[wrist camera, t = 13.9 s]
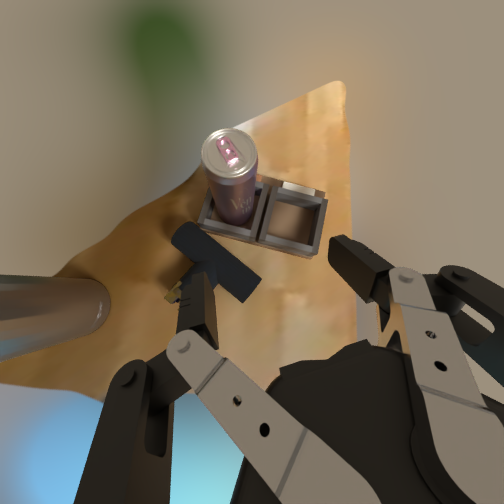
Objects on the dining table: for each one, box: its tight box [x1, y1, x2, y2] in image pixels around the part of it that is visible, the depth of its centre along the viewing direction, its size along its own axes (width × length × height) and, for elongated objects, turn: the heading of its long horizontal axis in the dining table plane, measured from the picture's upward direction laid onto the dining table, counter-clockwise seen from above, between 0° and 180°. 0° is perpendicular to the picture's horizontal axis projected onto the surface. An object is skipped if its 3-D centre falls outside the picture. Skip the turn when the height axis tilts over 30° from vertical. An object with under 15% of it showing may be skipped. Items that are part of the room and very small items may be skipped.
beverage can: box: [201, 128, 258, 226], centre depth 26 cm, size 6×6×15 cm
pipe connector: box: [164, 222, 262, 311], centre depth 30 cm, size 12×5×15 cm
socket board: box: [197, 174, 328, 259], centre depth 33 cm, size 20×13×4 cm, turn 75°
